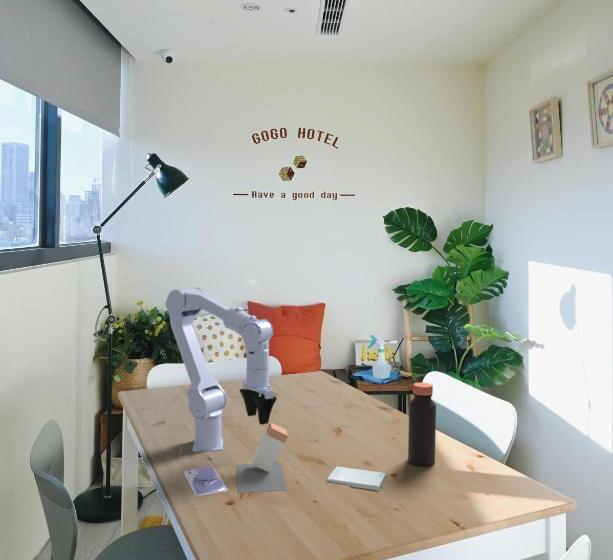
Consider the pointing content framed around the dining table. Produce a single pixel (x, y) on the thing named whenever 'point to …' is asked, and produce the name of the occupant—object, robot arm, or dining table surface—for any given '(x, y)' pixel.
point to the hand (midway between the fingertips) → (257, 419)
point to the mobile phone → (205, 481)
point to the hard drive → (357, 478)
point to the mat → (260, 479)
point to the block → (269, 447)
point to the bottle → (422, 426)
